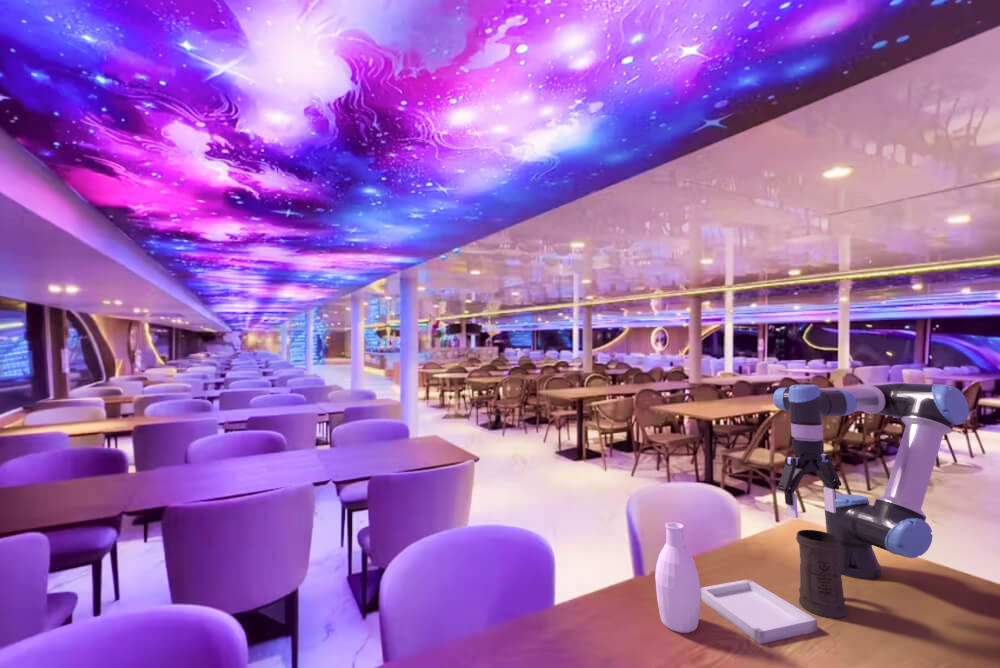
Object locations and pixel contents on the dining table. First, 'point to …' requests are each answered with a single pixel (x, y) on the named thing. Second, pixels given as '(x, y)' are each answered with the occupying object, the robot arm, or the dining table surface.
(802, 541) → the beer stein
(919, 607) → the dining table surface
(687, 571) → the bottle
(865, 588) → the dining table surface
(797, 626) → the tray
